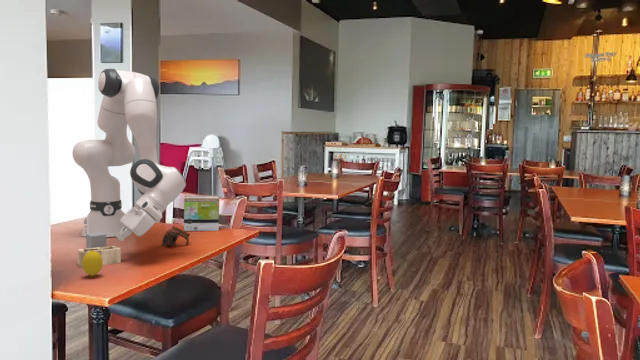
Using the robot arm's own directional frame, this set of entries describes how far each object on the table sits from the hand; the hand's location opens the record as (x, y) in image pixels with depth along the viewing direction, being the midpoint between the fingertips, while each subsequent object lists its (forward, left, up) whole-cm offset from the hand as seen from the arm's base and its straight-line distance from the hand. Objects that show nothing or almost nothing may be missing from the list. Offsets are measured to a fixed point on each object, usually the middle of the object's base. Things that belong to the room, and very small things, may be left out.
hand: (118, 239), depth 171 cm
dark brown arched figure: (-15, +23, -8) cm, 28 cm away
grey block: (-9, -5, -7) cm, 13 cm away
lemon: (+15, -10, -8) cm, 20 cm away
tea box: (-41, +43, -8) cm, 60 cm away
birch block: (0, 0, -5) cm, 5 cm away
